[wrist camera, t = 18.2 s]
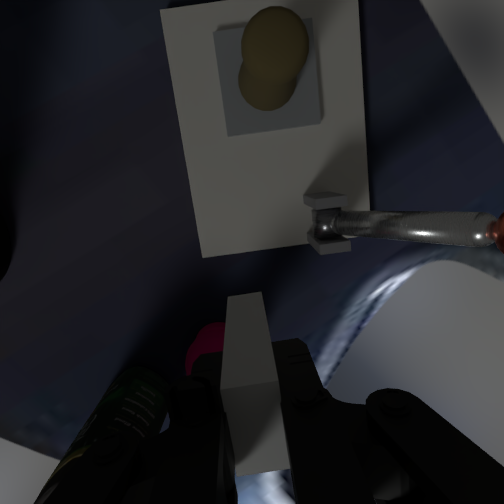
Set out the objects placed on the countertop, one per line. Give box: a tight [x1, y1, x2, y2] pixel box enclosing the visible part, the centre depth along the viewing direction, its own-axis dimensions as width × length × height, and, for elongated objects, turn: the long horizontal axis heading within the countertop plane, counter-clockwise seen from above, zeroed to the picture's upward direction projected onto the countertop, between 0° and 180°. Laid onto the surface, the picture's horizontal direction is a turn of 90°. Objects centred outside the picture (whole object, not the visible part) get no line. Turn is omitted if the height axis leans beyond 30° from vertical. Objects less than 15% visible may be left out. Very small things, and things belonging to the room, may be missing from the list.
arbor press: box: [160, 0, 370, 258], centre depth 34 cm, size 20×26×8 cm
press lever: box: [311, 207, 504, 254], centre depth 28 cm, size 4×4×20 cm
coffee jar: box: [34, 366, 169, 504], centre depth 37 cm, size 10×8×19 cm
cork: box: [238, 6, 309, 111], centre depth 30 cm, size 6×6×11 cm
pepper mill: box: [185, 322, 226, 375], centre depth 35 cm, size 7×7×20 cm
